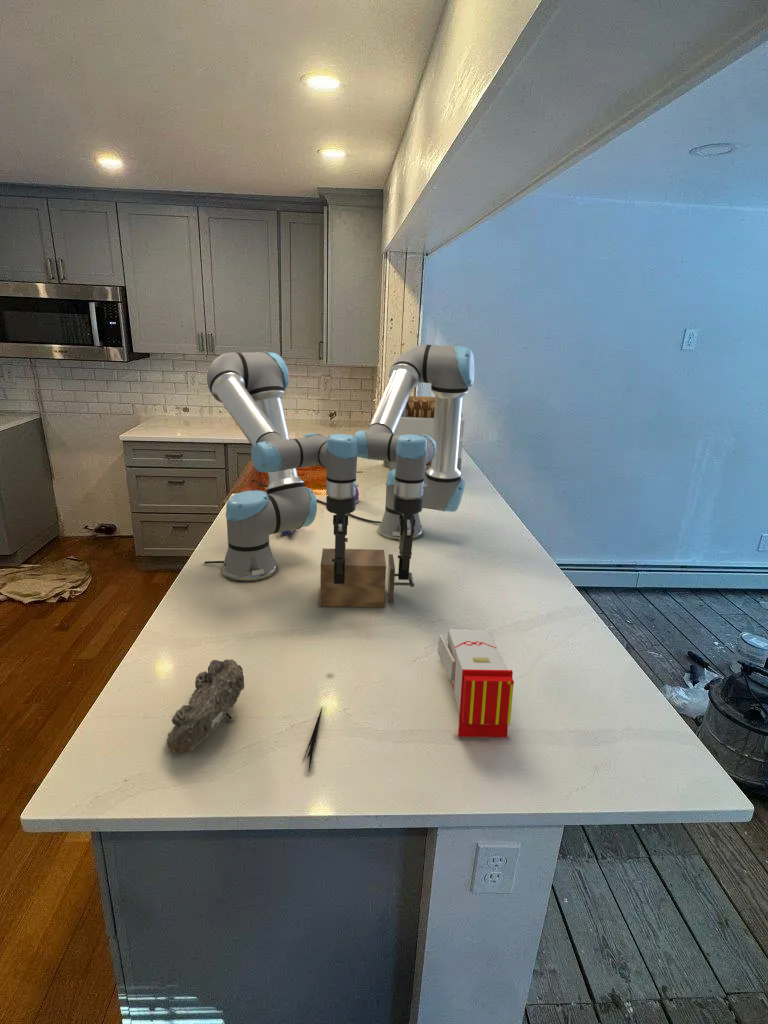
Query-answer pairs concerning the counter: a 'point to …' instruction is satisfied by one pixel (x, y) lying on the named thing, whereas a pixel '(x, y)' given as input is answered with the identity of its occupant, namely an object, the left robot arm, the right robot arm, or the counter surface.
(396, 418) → the right robot arm
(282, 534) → the figurine character
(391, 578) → the drawer
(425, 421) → the grey box
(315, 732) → the feather
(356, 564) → the cabinet
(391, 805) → the counter surface
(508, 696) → the toy
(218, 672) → the fossil
